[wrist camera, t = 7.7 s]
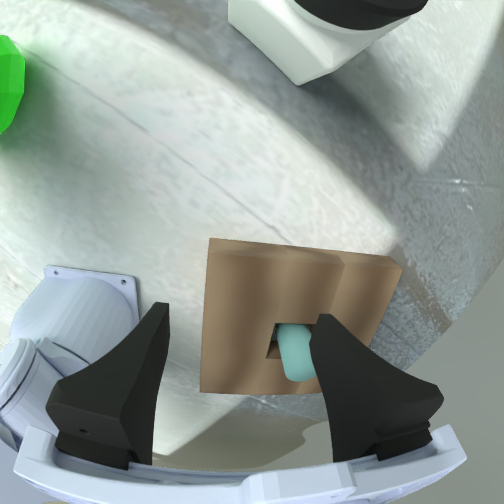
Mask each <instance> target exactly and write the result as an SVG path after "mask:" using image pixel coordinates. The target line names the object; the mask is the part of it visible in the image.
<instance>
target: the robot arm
mask: <svg viewBox="0 0 504 504" xmlns="http://www.w3.org/2000/svg"><path fill="white" fill-rule="evenodd" d="M56 271H57V272H58V273H57V272H56ZM44 273H45V278H44V279H43V280H42V281H41V282H40V283H39V284H38V286H37V287H36V288H35V289H34V290H33V292H32V293H31V294H30V295H29V296H28V298H27V299H26V300H25V301H24V303H23V304H22V305H21V306H20V308H19V309H18V310H17V312H16V313H15V315H14V318H13V320H12V324H11V328H10V343H9V344H8V345H7V346H6V347H5V348H4V349H3V350H2V351H1V352H0V504H43V503H45V502H52V501H65V502H68V503H70V504H387V503H389V502H392V501H394V500H397V499H399V498H401V497H404V496H406V495H408V494H410V493H412V492H415V491H417V490H419V489H421V488H423V487H425V486H427V485H429V484H431V483H433V482H435V481H437V480H439V479H440V478H442V477H443V476H445V475H446V474H448V473H449V472H450V471H452V470H453V469H454V468H456V467H457V466H459V465H460V464H461V463H462V462H464V461H465V460H466V459H467V457H466V455H465V453H464V451H463V449H462V447H461V446H460V443H459V441H458V439H457V437H456V435H455V433H454V432H453V430H452V428H451V426H450V424H447V425H445V426H443V427H440V428H437V429H435V430H433V431H431V432H429V430H428V428H429V427H430V423H429V421H428V420H429V418H431V417H432V416H433V415H434V413H435V412H436V411H437V410H438V409H439V408H440V406H441V405H442V403H443V401H444V397H443V395H442V393H441V392H440V390H439V388H438V387H437V385H434V384H432V383H429V382H426V381H423V380H421V379H418V378H416V377H414V376H411V375H409V374H407V373H405V372H403V371H401V370H400V369H398V368H396V367H394V366H393V365H391V364H389V363H388V362H386V361H385V360H383V359H382V358H381V357H379V356H378V355H376V354H375V353H374V352H372V351H371V350H370V349H369V348H368V347H366V346H365V345H364V344H363V343H362V342H361V341H359V340H358V339H357V338H356V337H355V336H354V335H353V334H352V333H351V332H350V331H349V330H348V329H347V328H346V327H345V326H343V325H342V324H341V323H340V322H339V321H338V320H337V319H336V318H335V317H334V316H333V315H332V314H319V316H318V319H317V322H316V325H315V328H314V331H313V333H312V336H311V339H310V341H309V348H310V354H311V359H312V363H313V366H314V369H315V372H316V375H317V378H318V381H319V384H320V387H321V390H322V393H323V396H324V399H325V403H326V408H327V413H328V418H329V424H330V431H331V440H332V448H333V463H329V464H323V465H317V466H309V467H302V468H292V469H282V470H272V471H262V472H209V471H193V470H181V469H172V468H164V467H157V466H152V448H153V431H154V419H155V410H156V401H157V395H158V390H159V386H160V382H161V378H162V374H163V370H164V366H165V362H166V358H167V354H168V346H169V339H170V325H169V303H161V302H155V303H154V304H153V306H152V307H151V308H150V310H149V311H148V312H147V313H146V315H145V316H144V317H143V318H142V320H141V321H140V322H139V314H138V304H137V293H136V281H135V279H134V278H133V277H132V276H126V275H118V274H110V273H102V272H94V271H86V270H79V269H72V268H65V267H58V266H51V265H47V266H46V267H45V268H44ZM122 280H125V281H126V283H125V282H123V281H122Z"/></svg>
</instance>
